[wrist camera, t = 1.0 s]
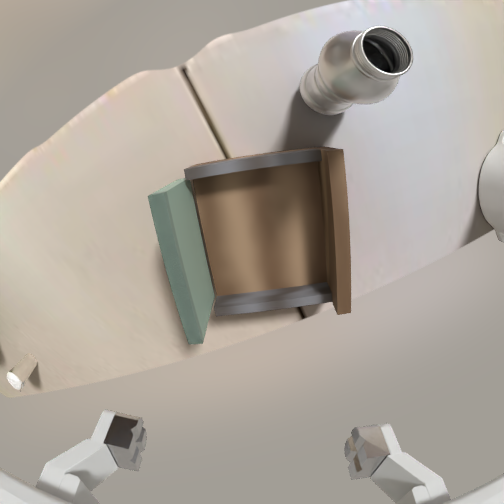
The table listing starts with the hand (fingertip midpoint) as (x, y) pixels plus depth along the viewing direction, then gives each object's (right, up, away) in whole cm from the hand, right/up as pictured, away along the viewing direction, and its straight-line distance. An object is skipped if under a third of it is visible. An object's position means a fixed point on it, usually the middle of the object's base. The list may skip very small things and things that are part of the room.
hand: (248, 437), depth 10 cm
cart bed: (+2, +10, +29) cm, 31 cm away
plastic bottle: (+9, +27, +23) cm, 36 cm away
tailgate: (-6, +8, +27) cm, 29 cm away
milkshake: (-49, -17, +41) cm, 66 cm away
